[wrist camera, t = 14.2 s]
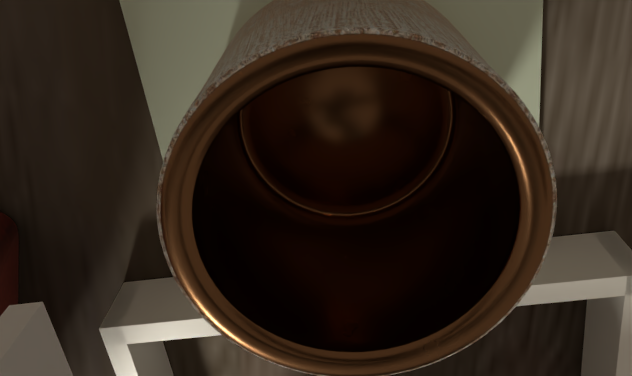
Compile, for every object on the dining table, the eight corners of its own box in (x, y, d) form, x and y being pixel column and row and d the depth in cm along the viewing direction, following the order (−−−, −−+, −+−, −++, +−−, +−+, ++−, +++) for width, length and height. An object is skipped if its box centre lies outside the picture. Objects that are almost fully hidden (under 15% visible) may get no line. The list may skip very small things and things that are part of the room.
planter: (428, 249, 27) (475, 412, 18) (196, 198, 26) (131, 345, 17) (518, 15, 22) (639, 86, 14) (239, -58, 21) (180, -31, 13)
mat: (194, 257, 28) (191, 264, 28) (117, -26, 22) (112, -25, 22) (531, 220, 27) (535, 227, 26) (540, -88, 21) (545, -88, 21)
